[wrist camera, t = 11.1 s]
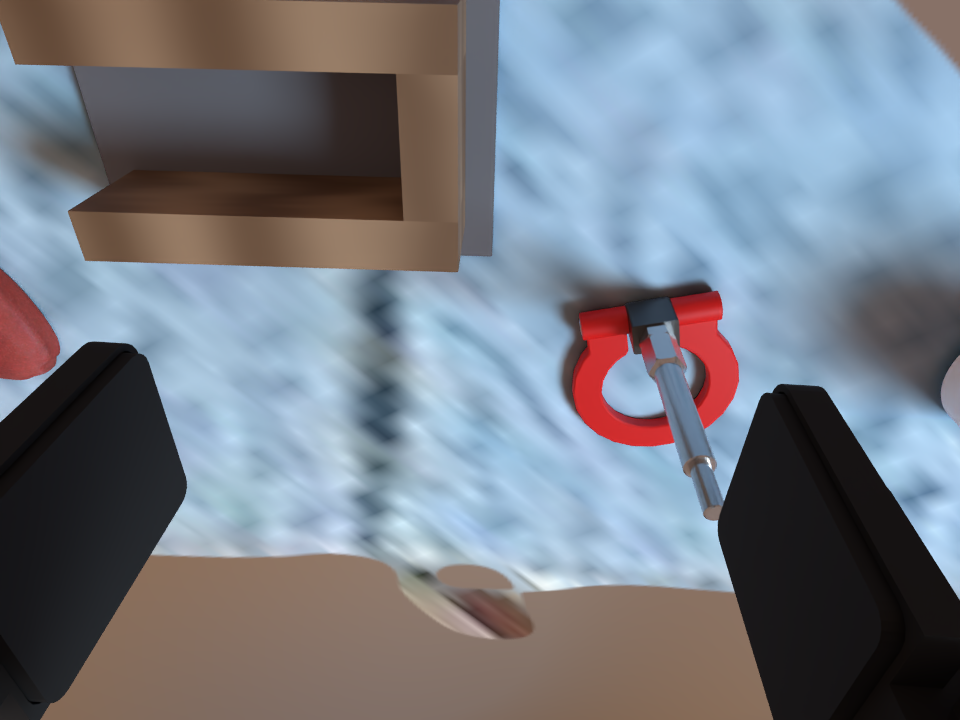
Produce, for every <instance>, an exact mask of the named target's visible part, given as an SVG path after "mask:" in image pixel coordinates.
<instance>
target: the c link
mask: <svg viewBox="0 0 960 720" xmlns="http://www.w3.org/2000/svg"><path fill="white" fill-rule="evenodd" d="M0 22H1V25H2V28H3V31H4V34H5V36H6V39H7V42H8V45H9V48H10V50H11V53H12V56H13V59H14V62H15V64H23V65H63V66H103V67H143V68H183V69H224V70H264V71H304V72H344V73H384V74H396V83H397V103H398V122H399V141H400V161H401V177H366V176H330V175H294V174H259V173H223V172H187V171H151V170H133V171H131V172H129V173H128V174H126V175H125V176H123V177H121V178H120V179H118V180H117V181H115V182H113V183H112V184H110V185H109V186H107V187H105V188H104V189H102V190H101V191H99V192H97V193H96V194H94V195H93V196H91V197H90V198H88V199H86V200H85V201H83V202H82V203H80V204H78V205H77V206H75V207H74V208H72V209H70V210H69V211H68V213H69V216H70V219H71V222H72V225H73V227H74V230H75V233H76V236H77V239H78V241H79V244H80V247H81V250H82V253H83V256H84V258H85V261H112V262H144V263H177V264H209V265H242V266H274V267H307V268H339V269H372V270H404V271H437V272H458V269H459V262H460V255H461V248H462V241H463V234H464V228H465V134H466V0H0Z"/></svg>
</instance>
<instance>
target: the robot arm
mask: <svg viewBox="0 0 960 720" xmlns="http://www.w3.org/2000/svg"><path fill="white" fill-rule="evenodd" d="M186 489H187V481H186V476H185V473H184V470H183V467H182V464H181V461H180V458H179V455H178V452H177V449H176V445H175V442H174V439H173V436H172V433H171V430H170V427H169V424H168V421H167V418H166V415H165V412H164V408H163V405H162V402H161V399H160V396H159V393H158V390H157V387H156V384H155V381H154V378H153V375H152V371H151V368H150V365H149V362H148V360H147V358H146V357H145V356H144V355H142V354H138V352H137V350H136V349H135V348H134V347H133V346H132V345H130V344H126V343H109V342H88V343H86V344H85V345H83V346H82V347H81V348H80V349H79V350H78V351H77V352H75V353H74V354H73V355H72V356H71V357H70V358H69V359H68V360H67V361H66V362H65V363H64V364H63V365H61V366H60V367H59V368H58V369H57V370H56V371H55V372H54V373H53V374H52V375H51V376H50V377H49V378H48V379H46V380H45V381H44V382H43V383H42V384H41V385H40V386H39V387H38V388H37V389H36V390H35V391H34V392H32V393H31V394H30V395H29V396H28V397H27V398H26V399H25V400H24V401H23V402H22V403H21V404H20V405H18V406H17V407H16V408H15V409H14V410H13V411H12V412H11V413H10V414H9V415H8V416H7V417H6V418H5V419H3V420H2V421H1V422H0V720H40V719H41V717H42V716H43V714H44V713H45V711H46V709H47V708H48V706H49V705H50V703H54V702H56V701H58V700H60V699H61V698H62V697H63V696H64V695H65V693H66V692H67V690H68V689H69V688H70V686H71V684H72V683H73V681H74V679H75V678H76V676H77V674H78V673H79V671H80V670H81V668H82V666H83V665H84V663H85V661H86V660H87V658H88V656H89V655H90V653H91V651H92V650H93V648H94V647H95V645H96V643H97V641H98V640H99V638H100V637H101V635H102V633H103V632H104V630H105V628H106V627H107V625H108V624H109V622H110V620H111V619H112V617H113V615H114V614H115V612H116V610H117V609H118V607H119V606H120V604H121V602H122V601H123V599H124V597H125V596H126V594H127V592H128V591H129V589H130V587H131V586H132V584H133V583H134V581H135V579H136V578H137V576H138V574H139V573H140V571H141V569H142V568H143V566H144V564H145V563H146V561H147V560H148V558H149V556H150V555H151V553H152V551H153V550H154V548H155V546H156V545H157V543H158V542H159V540H160V538H161V537H162V535H163V533H164V532H165V530H166V528H167V527H168V525H169V523H170V522H171V520H172V519H173V517H174V515H175V514H176V512H177V510H178V509H179V507H180V505H181V504H182V502H183V500H184V497H185V494H186ZM718 537H719V541H720V545H721V548H722V551H723V555H724V558H725V561H726V565H727V568H728V571H729V575H730V578H731V581H732V584H733V588H734V591H735V594H736V597H737V601H738V604H739V607H740V611H741V614H742V617H743V621H744V624H745V627H746V631H747V634H748V637H749V640H750V644H751V647H752V650H753V654H754V657H755V660H756V663H757V667H758V670H759V673H760V677H761V680H762V683H763V686H764V690H765V693H766V697H767V700H768V703H769V706H770V710H771V713H772V716H773V720H960V600H959V598H958V597H957V595H956V594H955V592H954V591H953V589H952V587H951V586H950V584H949V583H948V581H947V580H946V578H945V576H944V575H943V573H942V572H941V570H940V568H939V567H938V565H937V564H936V562H935V561H934V559H933V557H932V556H931V554H930V553H929V551H928V550H927V548H926V546H925V545H924V543H923V542H922V540H921V538H920V537H919V535H918V534H917V532H916V531H915V529H914V527H913V526H912V524H911V523H910V521H909V520H908V518H907V516H906V515H905V513H904V512H903V510H902V508H901V507H900V505H899V504H898V502H897V501H896V499H895V497H894V496H893V494H892V493H891V491H890V490H889V489H888V488H887V487H886V485H885V484H884V482H883V480H882V479H881V477H880V476H879V474H878V472H877V471H876V469H875V468H874V466H873V465H872V463H871V461H870V460H869V458H868V457H867V455H866V453H865V452H864V450H863V449H862V447H861V446H860V444H859V442H858V441H857V439H856V438H855V436H854V434H853V433H852V431H851V430H850V428H849V427H848V425H847V423H846V422H845V420H844V419H843V417H842V415H841V414H840V412H839V411H838V409H837V408H836V406H835V404H834V403H833V401H832V400H831V398H830V396H829V395H828V393H827V392H826V391H825V390H824V389H823V388H822V387H819V386H807V385H790V384H780V385H778V386H777V387H776V388H775V389H774V391H773V393H764V394H763V395H762V396H761V398H760V400H759V403H758V406H757V409H756V412H755V414H754V417H753V420H752V423H751V426H750V429H749V432H748V435H747V437H746V440H745V443H744V446H743V449H742V452H741V455H740V458H739V460H738V463H737V466H736V469H735V472H734V475H733V478H732V481H731V483H730V486H729V489H728V492H727V495H726V498H725V501H724V504H723V506H722V509H721V512H720V515H719V519H718Z"/></svg>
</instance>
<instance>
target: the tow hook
mask: <svg viewBox="0 0 960 720" xmlns="http://www.w3.org/2000/svg"><path fill="white" fill-rule="evenodd" d="M722 315H723V307H722V301H721V297H720V295H719V293H718V291H713V292H706V293H700V294H694V295H687V296H681V297H675V298H669V297H661V298H655V299H649V300H643V301H636V302H630V303H626V304H625V306H619V307H612V308H606V309H600V310H594V311H587V312H581V313H579V325H580V331H581V336H582V338H583V340H587V348H586V349H585V350H584V351H583V352H582V353H581V355H580V357H579V360H578V362H577V364H576V366H575V368H574V372H573V380H572V392H573V397H574V402H575V406H576V410H577V411H578V413H579V415H580V416H581V418H582V419H583V421H584V423H585V424H587V425H588V426H589V427H590V428H591V429H592V430H594V431H595V432H596V433H597V434H599V435H601V436H603V437H605V438H607V439H609V440H611V441H613V442H617V443H622V444H626V445H630V446H658V445H664V444H670V443H674V442H675V445H676V449H677V452H678V455H679V458H680V462H681V465H682V468H683V472H684V473H685V474H686V475H687V476H688V477H691V478H692V480H693V484H694V487H695V490H696V493H697V496H698V499H699V502H700V506H701V509H702V512H703V515H704V517H705V518H706V519H708V520H713V521H715V520H718V519H719V515H720V512H721V509H722V506H723V504H724V500H723V497H722V494H721V492H720V489H719V486H718V483H717V480H716V478H715V475H714V471H715V469H716V467H717V463H716V460H715V457H714V454H713V452H712V449H711V446H710V443H709V441H708V438H707V435H706V433H705V430H704V429H705V428H707V427H708V426H710V425H711V424H712V423H713V422H714V421H715V420H716V419H717V418H719V417H720V416H721V415H722V414H723V413H724V411H725V410H726V408H727V407H728V405H729V404H730V403H731V401H732V400H733V398H734V395H735V392H736V389H737V386H738V382H739V370H738V362H737V360H736V358H735V355H734V353H733V350H732V348H731V346H730V344H729V342H728V341H727V340H726V339H725V337H724V336H723V335H722V334H721V333H720V332H719V331H718V330H717V320H721V319H722ZM627 334H629V337H630V341H631V344H632V348H633V351H634V354H642V356H643V359H644V363H645V366H646V369H647V373H648V374H649V376H650V377H651V378H652V379H653V380H654V381H655V383H656V384H657V387H658V390H659V393H660V396H661V400H662V403H663V406H664V409H665V413H666V416H665V417H661V418H655V419H636V418H632V417H628V416H625V415H623V414H621V413H619V412H617V411H615V410H614V409H613V408H612V407H611V406H609V405H608V404H607V402H606V401H605V399H604V397H603V395H602V392H601V391H602V385H603V380H604V378H605V376H606V374H607V372H608V370H609V369H610V368H611V367H612V366H613V365H614V364H615V363H616V361H618V360H619V359H620V358H622V357H623V356H625V355H626V354H627V352H628V342H627ZM680 347H681V348H685V349H687V350H688V351H690V352H692V353H694V354H696V355H697V356H698V357H699V359H700V360H701V361H702V362H703V363H704V365H705V371H706V378H705V381H704V385H703V388H702V389H701V391H700V393H699V394H698V396H697V397H696V398H695V399H694V400H693V397H692V395H691V392H690V389H689V387H688V384H687V381H686V378H685V376H684V373H685V372H686V369H687V366H686V363H685V361H684V358H683V355H682V353H681V350H680Z"/></svg>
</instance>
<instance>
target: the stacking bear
mask: <svg viewBox="0 0 960 720" xmlns="http://www.w3.org/2000/svg"><path fill="white" fill-rule="evenodd" d="M59 353H60V345H59V342H58V338H57V336H56V334H55V333H54V331H53V329H52V328H51V326H50V325H49V323H48V322H47V320H46V319H45V317H44V316H43V314H42V313H41V312H40V310H39V309H38V308H37V307H36V305H35V304H34V303H33V302H32V301H31V299H30V298H29V297H28V296H27V295H26V294H25V292H24V291H23V290H22V289H21V288H20V287H19V286H18V285H17V284H16V283H15V282H14V281H13V280H12V279H11V278H10V277H9V276H8V275H7V274H6V273H4V272H3V271H2V270H1V269H0V378H3V379H12V380H25V379H29V378H31V377H33V376H37V375H41V374H44V373H46V372H48V371H49V370H51V369H52V368H53V367H54V366H55V364H56V356H58V355H59Z"/></svg>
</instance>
